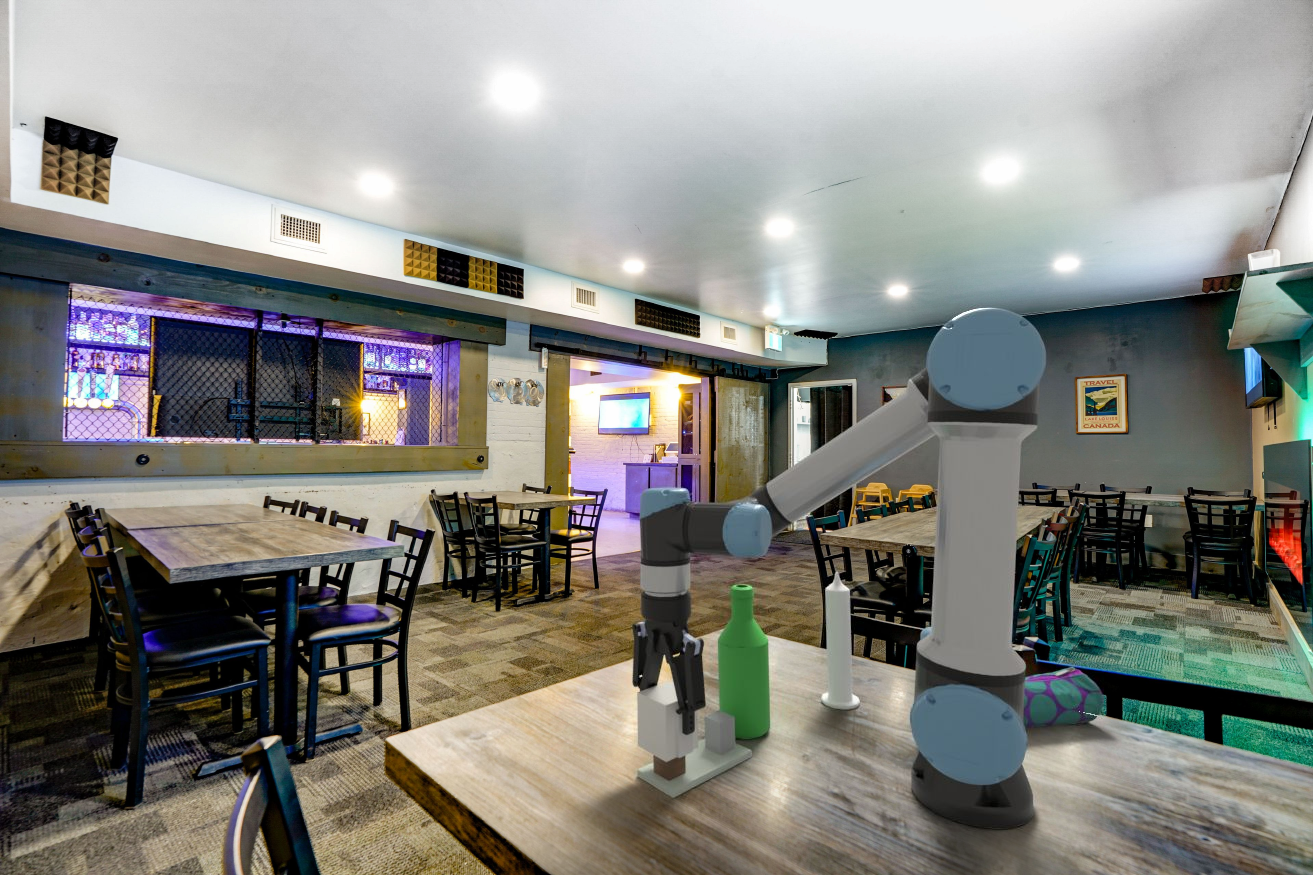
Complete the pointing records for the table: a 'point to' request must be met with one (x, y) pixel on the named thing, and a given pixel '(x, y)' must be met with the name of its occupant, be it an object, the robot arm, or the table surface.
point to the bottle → (744, 668)
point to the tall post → (669, 767)
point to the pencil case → (1060, 698)
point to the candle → (839, 648)
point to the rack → (703, 757)
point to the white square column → (660, 721)
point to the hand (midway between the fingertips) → (668, 744)
